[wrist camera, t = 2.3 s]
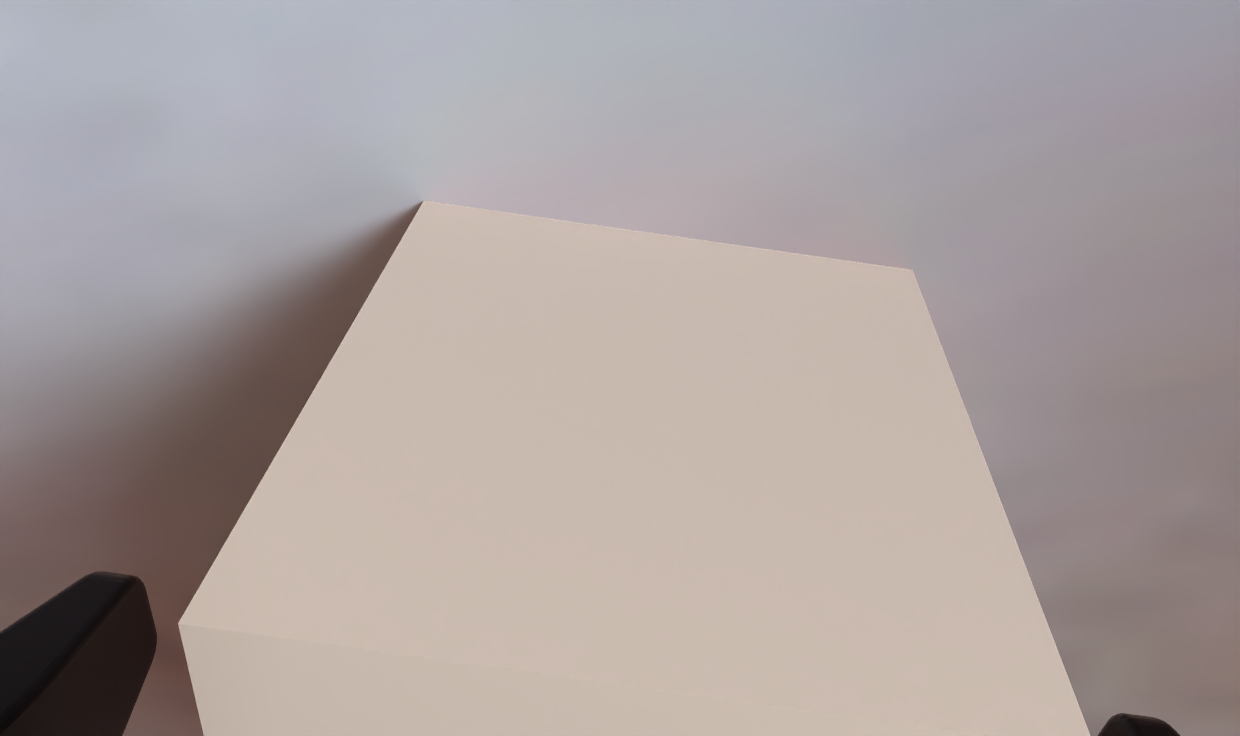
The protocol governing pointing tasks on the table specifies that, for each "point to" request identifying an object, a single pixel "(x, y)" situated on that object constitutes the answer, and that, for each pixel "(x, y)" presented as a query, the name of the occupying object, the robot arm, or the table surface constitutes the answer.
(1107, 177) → the table surface
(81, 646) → the robot arm
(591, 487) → the beige cube
